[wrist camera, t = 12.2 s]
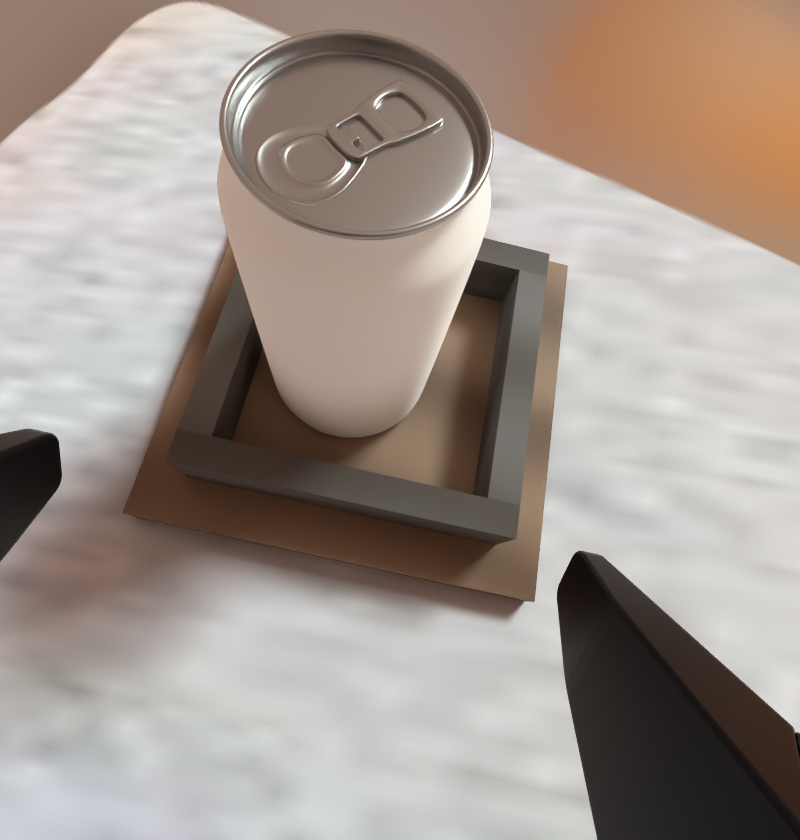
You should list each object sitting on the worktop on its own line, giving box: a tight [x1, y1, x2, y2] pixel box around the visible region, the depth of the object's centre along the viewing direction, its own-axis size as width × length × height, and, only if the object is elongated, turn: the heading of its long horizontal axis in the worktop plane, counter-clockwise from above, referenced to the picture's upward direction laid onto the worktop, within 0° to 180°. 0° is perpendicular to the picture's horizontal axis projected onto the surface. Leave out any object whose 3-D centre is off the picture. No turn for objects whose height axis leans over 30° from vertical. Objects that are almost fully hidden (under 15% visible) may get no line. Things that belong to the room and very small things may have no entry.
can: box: [217, 29, 493, 438], centre depth 16 cm, size 6×6×12 cm
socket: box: [123, 238, 568, 602], centre depth 21 cm, size 16×16×4 cm
